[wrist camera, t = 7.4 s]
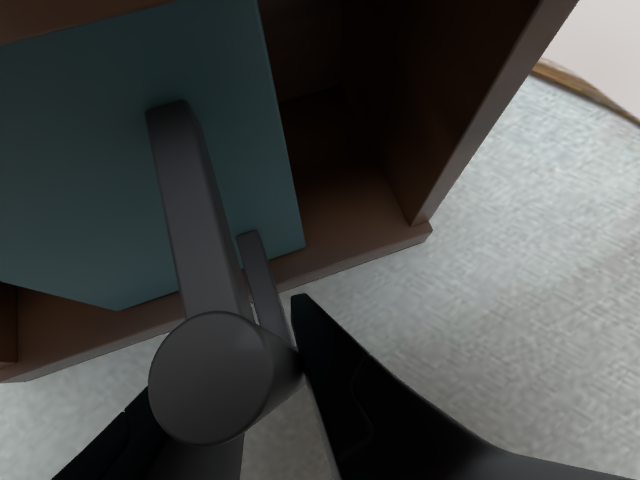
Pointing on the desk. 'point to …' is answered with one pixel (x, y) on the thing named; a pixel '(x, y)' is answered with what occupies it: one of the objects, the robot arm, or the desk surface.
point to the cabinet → (320, 140)
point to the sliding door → (159, 197)
